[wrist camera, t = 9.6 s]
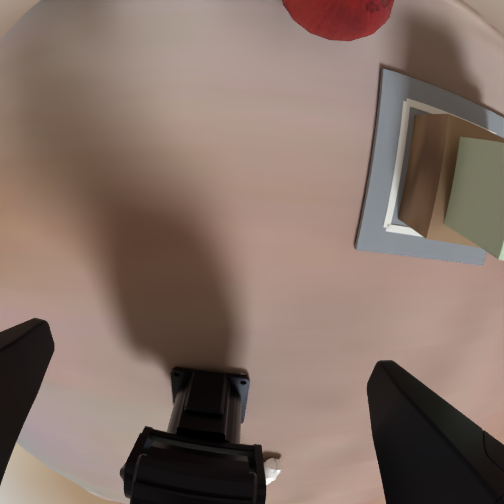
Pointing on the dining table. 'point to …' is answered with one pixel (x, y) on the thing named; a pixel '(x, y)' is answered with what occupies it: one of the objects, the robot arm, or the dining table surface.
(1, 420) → the robot arm
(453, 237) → the walnut base
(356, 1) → the onion
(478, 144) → the sage block
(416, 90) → the blueprint mat
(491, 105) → the dining table surface
